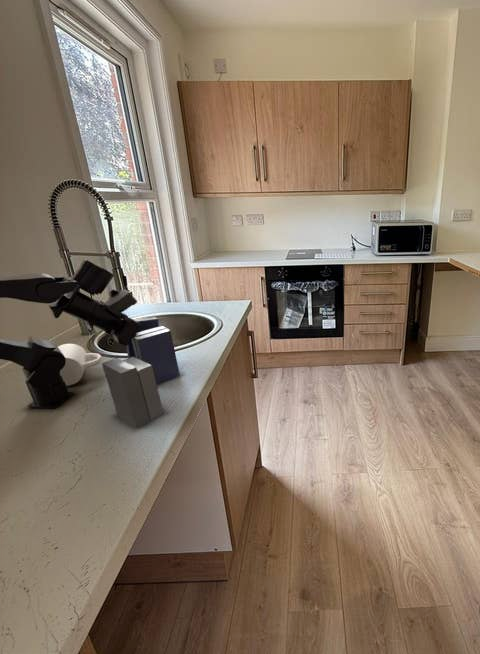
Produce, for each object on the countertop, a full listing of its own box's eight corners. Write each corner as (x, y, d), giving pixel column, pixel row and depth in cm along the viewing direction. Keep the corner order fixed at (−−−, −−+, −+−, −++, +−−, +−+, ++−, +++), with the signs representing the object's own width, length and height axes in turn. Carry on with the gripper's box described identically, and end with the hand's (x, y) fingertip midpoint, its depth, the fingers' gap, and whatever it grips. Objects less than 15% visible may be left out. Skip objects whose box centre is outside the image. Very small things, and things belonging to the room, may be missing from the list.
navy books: (149, 387, 87) (137, 340, 82) (141, 380, 91) (129, 334, 86) (180, 375, 92) (170, 330, 87) (172, 369, 96) (162, 325, 91)
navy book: (131, 370, 93) (125, 322, 89) (129, 367, 94) (123, 321, 90) (162, 363, 98) (158, 318, 94) (159, 361, 99) (155, 317, 96)
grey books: (117, 415, 76) (101, 363, 71) (144, 402, 81) (131, 352, 76) (136, 428, 72) (121, 373, 67) (164, 413, 77) (151, 361, 72)
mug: (49, 390, 87) (39, 361, 84) (57, 373, 95) (47, 346, 92) (104, 378, 92) (96, 351, 89) (107, 363, 100) (99, 337, 97)
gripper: (121, 288, 78) (178, 321, 90) (98, 276, 91) (150, 307, 102) (91, 331, 76) (153, 359, 88) (71, 312, 89) (128, 339, 100)
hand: (146, 338), depth 94 cm, fingers closed on navy book, 2 cm apart
